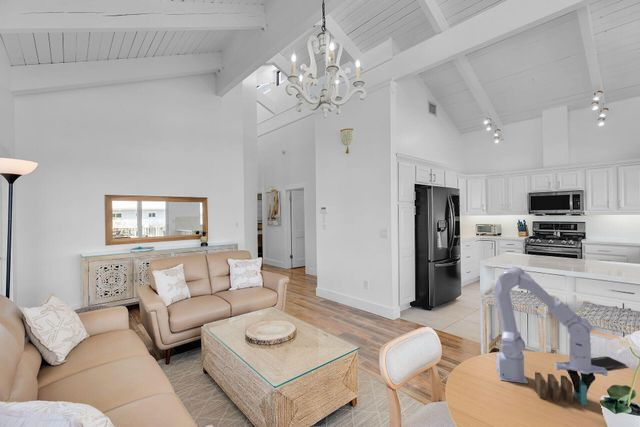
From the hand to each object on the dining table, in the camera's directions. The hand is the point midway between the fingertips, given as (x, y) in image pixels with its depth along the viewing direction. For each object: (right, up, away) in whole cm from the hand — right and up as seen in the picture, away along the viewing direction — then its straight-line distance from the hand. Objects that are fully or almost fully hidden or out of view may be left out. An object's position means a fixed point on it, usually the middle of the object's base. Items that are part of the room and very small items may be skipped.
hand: (580, 391), depth 106 cm
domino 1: (-11, -4, +4) cm, 12 cm away
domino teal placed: (0, -3, 0) cm, 3 cm away
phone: (+29, -2, +22) cm, 36 cm away
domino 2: (-7, -4, +3) cm, 9 cm away
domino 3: (-4, -3, +1) cm, 5 cm away
